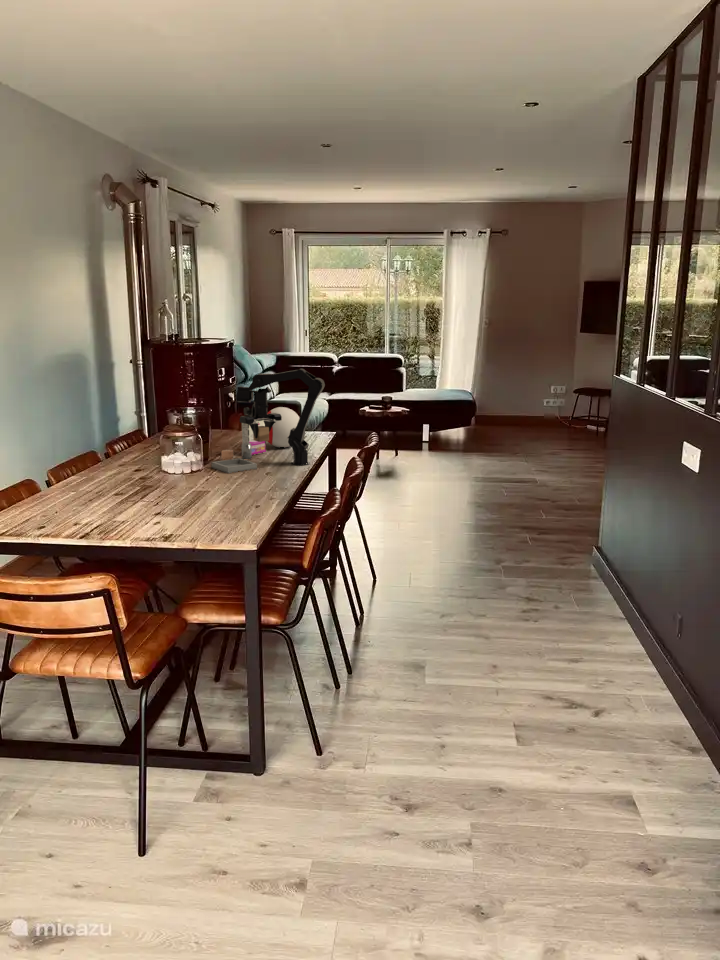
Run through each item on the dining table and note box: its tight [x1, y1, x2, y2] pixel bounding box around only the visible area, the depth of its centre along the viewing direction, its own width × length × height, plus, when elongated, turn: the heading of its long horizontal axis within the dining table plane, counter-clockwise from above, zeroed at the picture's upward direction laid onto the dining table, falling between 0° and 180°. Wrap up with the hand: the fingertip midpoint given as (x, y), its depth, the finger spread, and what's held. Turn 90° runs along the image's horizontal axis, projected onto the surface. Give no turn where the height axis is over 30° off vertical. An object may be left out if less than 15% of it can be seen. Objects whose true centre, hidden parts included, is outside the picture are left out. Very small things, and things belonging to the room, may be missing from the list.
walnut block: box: [253, 426, 269, 442], centre depth 328 cm, size 5×5×6 cm
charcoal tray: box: [211, 457, 258, 474], centre depth 318 cm, size 14×14×2 cm
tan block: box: [221, 449, 235, 461], centre depth 331 cm, size 5×5×5 cm
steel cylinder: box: [241, 443, 253, 460], centre depth 337 cm, size 4×4×7 cm
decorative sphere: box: [266, 406, 300, 448], centre depth 365 cm, size 20×20×20 cm
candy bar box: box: [241, 418, 267, 456], centre depth 348 cm, size 11×5×16 cm, turn 143°
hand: (261, 437), depth 328 cm, fingers closed on walnut block, 5 cm apart
